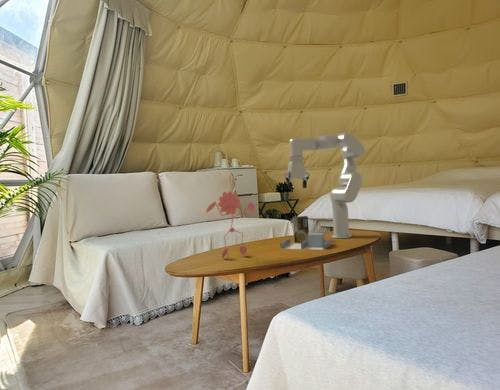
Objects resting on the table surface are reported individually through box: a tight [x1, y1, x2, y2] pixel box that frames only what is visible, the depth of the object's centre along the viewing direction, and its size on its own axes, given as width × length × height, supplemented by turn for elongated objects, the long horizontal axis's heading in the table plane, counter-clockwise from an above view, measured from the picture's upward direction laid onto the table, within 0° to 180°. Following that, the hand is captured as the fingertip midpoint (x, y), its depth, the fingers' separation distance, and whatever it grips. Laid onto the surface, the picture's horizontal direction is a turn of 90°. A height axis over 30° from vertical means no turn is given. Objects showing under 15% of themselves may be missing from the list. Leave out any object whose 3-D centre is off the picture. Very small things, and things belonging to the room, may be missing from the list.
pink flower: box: [205, 191, 255, 261], centre depth 210 cm, size 15×26×35 cm, turn 113°
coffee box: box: [292, 215, 310, 244], centre depth 237 cm, size 9×6×16 cm
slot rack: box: [279, 237, 332, 251], centre depth 221 cm, size 16×25×4 cm, turn 66°
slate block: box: [308, 232, 326, 248], centre depth 218 cm, size 5×8×7 cm, turn 66°
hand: (297, 188), depth 234 cm, fingers open, 9 cm apart
